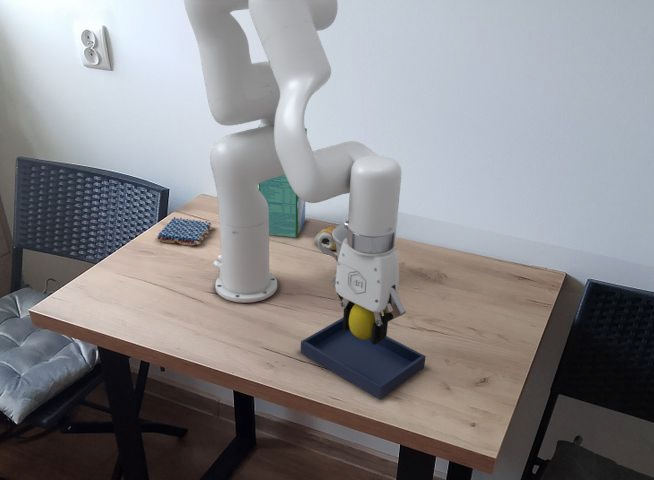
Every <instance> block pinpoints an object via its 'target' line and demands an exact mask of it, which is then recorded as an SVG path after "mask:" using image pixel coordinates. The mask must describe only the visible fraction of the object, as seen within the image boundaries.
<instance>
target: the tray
mask: <svg viewBox="0 0 654 480" xmlns="http://www.w3.org/2000/svg"><path fill="white" fill-rule="evenodd" d="M300 354H301V355H303V356H305V357H307V358H308V359H310V360H312V361H313V362H315V363H317V364H319V365H320V366H321V367H324V368H325V369H327V370H328V371H331V372H332V373H334V374H336V375H337V376H339V377H341V378H342V379H344V380H345V381H348V382H350V383H351V384H353V385H355V386H356V387H358V388H359V389H361V390H364V391H365V392H367V393H368V394H370V395H371V396H373V397H375V398H377V399H379V400H381V399H382V398H384V397H385V396H387V395H388V394H390V393H391V392H392V391H394V390H395V389H397V388H398V387H400V386H401V385H402V384H404V383H406V382H407V381H408V380H409V379H411V378H412V377H414V376H415V375H416V374H418V373H419V372H421V371H422V370H423V369H425V365H426V357H427V356H426V355H425V354H422V353H421V352H419V351H417V350H415V349H413V348H410V347H409V346H407V345H406V344H403V343H401V342H400V341H397V340H395V339H393V338H391V337H389V336H386V338H385V339H383V340H382V341H380V342H379V343H377V344H375V345H374V344H372V342H371V339H368V340H365V341H363V340H362V339H359V338H357V337H355V336H354V335H353V334H352V332H351V330H350V328H349V329H348V330H345V329H343V317H341V318H340V319H338V320H336V321H334V322H333V323H331V324H329V325H327V326H326V327H325V326H324V327H323V328H322V329H320V330H318V331H317V332H314V333H313V334H311V335H309V336H308V337H306V338H304V339H302V340H301V341H300Z"/></svg>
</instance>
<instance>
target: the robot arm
mask: <svg viewBox="0 0 654 480" xmlns="http://www.w3.org/2000/svg"><path fill="white" fill-rule="evenodd" d="M183 3H184V8H185V10H186V16H187V18H188V20H189V21H188V22H189V23H190V26H191V28H192V30H193V33H194V37H195V40H196V42H197V48H198V51H199V57H200V63H201V70H202V75H203V82H204V87H205V91H206V98H207V102H208V106H209V110H210V113H211V116H212V117H213V120H214V121H215V122H216V123H218V124H219V125H220V126H226V127H229V126H231V127H232V126H239V125H243V124H248V123H252V122H256V121H260V124H261V126H262V127H259V126H258V127H254V128H249V129H245V130H242V131H237V132H234V133H231V134H228V135H225V136H223V137H221V138H220V139H218V140H217V141H215V142H214V144H213V145H212V147H211V149H210V152H209V164H210V168H211V173H212V176H213V181H214V185H215V190H216V197H217V206H218V207H217V208H218V222H219V223H218V225H219V238H220V239H219V241H220V253H219V255H217V260H214V261H213V263H212V267H214V268H216V269H218V270H219V276H218V277H217V278H216V280H215V282H214V283H215V284H214V286H215V291H216V293H217V294H218V295H219V297H221V298H223V299H225V300H227V301H229V302H235V303H245V304H246V303H247V304H249V303H256V302H260V301H265V300H267V299H268V298H270V297H272V296H273V295H274V294H275V293H276V291H277V290H278V279H277V278H276V276H275V275H273V274H272V273H270V235H269V209H268V204H267V201H266V199H265V197H264V196H263V195H262V193H261V192H260V191H259V183H261V182H264V181H266V180H269V179H272V178H276V177H279V176H282V175H286V177H287V180H288V182H289V184H290V186H291V187H292V189H293V191H294V192H295V193H296V195H297V196H298V197H299V198H300V199H302V200H303V201H305V203H310V204H317V203H318V204H319V203H321V202H325V201H327V200H330V199H333V198H336V197H339V196H342V195H346V194H349V197H348V217H347V218H348V219H347V220H345V222H344V223H345V224H344V223H343V224H344V228H345V229H347V230H348V234H347V238H346V239H344V241H343V244H342V247H341V250H340V254H339V259H338V262H337V265H336V273H335V276H334V277H333V278H332V279H330V283H331V285H332V286H333V289H334V290H335V292H336V295H337V296H338V298H339V300H340V307H341V308H342V309H343V317H342V318H343V329H345V330H348V329H349V328H350V327H349V315H350V312H351V309H352V307H353V306H354V305H355V304H357V305H359V306H361V307H363V308H365V309H368V310H370V311H372V312H374V316H375V321H376V322H375V323H374V324H373V325H372V337H371V342H372V344H374V345H375V344H377V343H379V342H380V341H382V340H383V339H385V338H386V336H387V333H388V325H389V322H390V321H392V320H394V319H397V318H400V317H401V316H403V315H404V314H406V312H407V311H406V308H405V307H404V305H403V303H402V301H401V298H400V296H399V285H400V264H399V255H398V254H399V253H398V249H397V248H396V237H397V225H398V215H399V204H400V193H401V185H402V184H401V183H402V168H401V165H400V163H399V162H398V161H397V160H395V159H393V158H391V157H388V156H384V155H380V154H377V152H375V151H373V150H372V149H371V148H370V147H368V146H367V145H366V144H364V143H362V142H359V141H357V140H349V141H345V142H340V143H338V144H335V145H330V146H325V147H323V148H320V149H316V150H313V148H312V146H311V144H310V141H309V139H308V136H307V135H308V134H307V135H306V132H305V128H306V127H305V126H306V125H305V114H306V109H307V106H308V104H309V101H310V99H311V98H312V96H313V95H314V94H315V93H316V92H318V91H319V90H320V89H321V88H322V87H324V86H325V85H326V84H327V83H328V81H329V80H330V79H331V75H332V67H331V65H330V62H329V60H328V57H327V54H326V52H325V49H324V48H323V47H324V46H323V44H322V41H321V39H320V37H319V34H318V32H319V31H324V30H326V29H328V28H329V27H331V26H332V25H333V24H334V23H335V20H336V18H337V14H338V9H339V5H338V0H183ZM243 10H244V11H245V10H248V11H249V15H250V18H251V21H252V23H253V26H254V29H255V30H256V33H257V36H258V39H259V42H260V43H261V46H262V49H263V51H264V53H265V56H266V58H267V61H257V62H252V57H251V54H250V45H249V40H248V37H247V35H246V32H245V30H244V29H243V27H242V26H241V24H240V22H239V21H238V20H237V19H236V18H235V17H234V16H233V15H232V14H231V13H232V12H236V11H243ZM391 309H392V310H391ZM382 313H383V314H382ZM387 337H388V336H387Z"/></svg>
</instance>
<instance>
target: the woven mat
mask: <svg viewBox="0 0 654 480" xmlns="http://www.w3.org/2000/svg"><path fill="white" fill-rule="evenodd" d="M211 230H213V226H212V222H209V221H208V220H206V221H202V220H200V219H199V221H198V220H195V219H192V220H191V219H189V218H185V219H184V218H182V217H180V218H176V217H175V216H174V217H173V218H172V219H170V220H169V221H168V222H167V223H166V225H165V226H164V227H163V228H162V230H161V231H159V233H158V235H157V236H156V240H158V241H159V242H161V243H168V244H174V243H176V244H180V245H184V246H199V245H201V243H202V241H203V240H204V239H206V238H208V234H209V233H210V231H211Z"/></svg>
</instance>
